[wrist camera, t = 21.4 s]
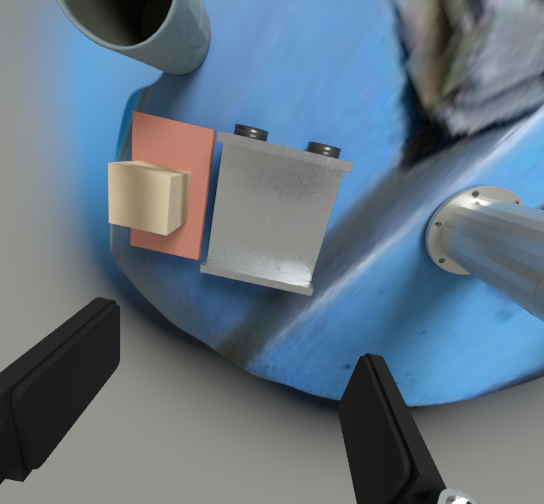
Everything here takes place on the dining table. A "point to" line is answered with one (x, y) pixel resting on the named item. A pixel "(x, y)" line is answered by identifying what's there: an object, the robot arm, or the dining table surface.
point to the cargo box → (148, 196)
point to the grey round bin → (146, 30)
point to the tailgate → (181, 155)
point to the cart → (271, 209)
